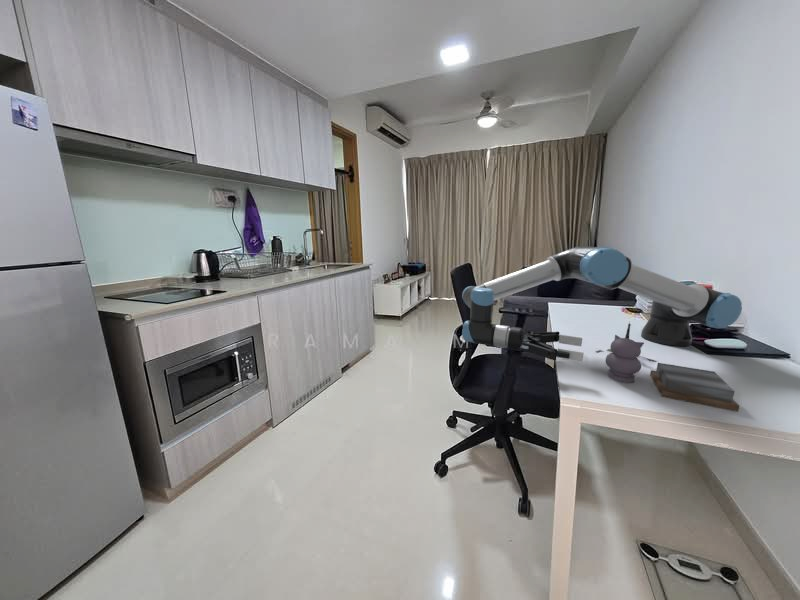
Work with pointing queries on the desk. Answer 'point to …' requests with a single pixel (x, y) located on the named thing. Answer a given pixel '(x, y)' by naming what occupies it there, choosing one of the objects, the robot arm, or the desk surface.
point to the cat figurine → (624, 359)
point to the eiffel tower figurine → (627, 338)
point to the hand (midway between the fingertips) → (582, 349)
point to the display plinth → (693, 386)
